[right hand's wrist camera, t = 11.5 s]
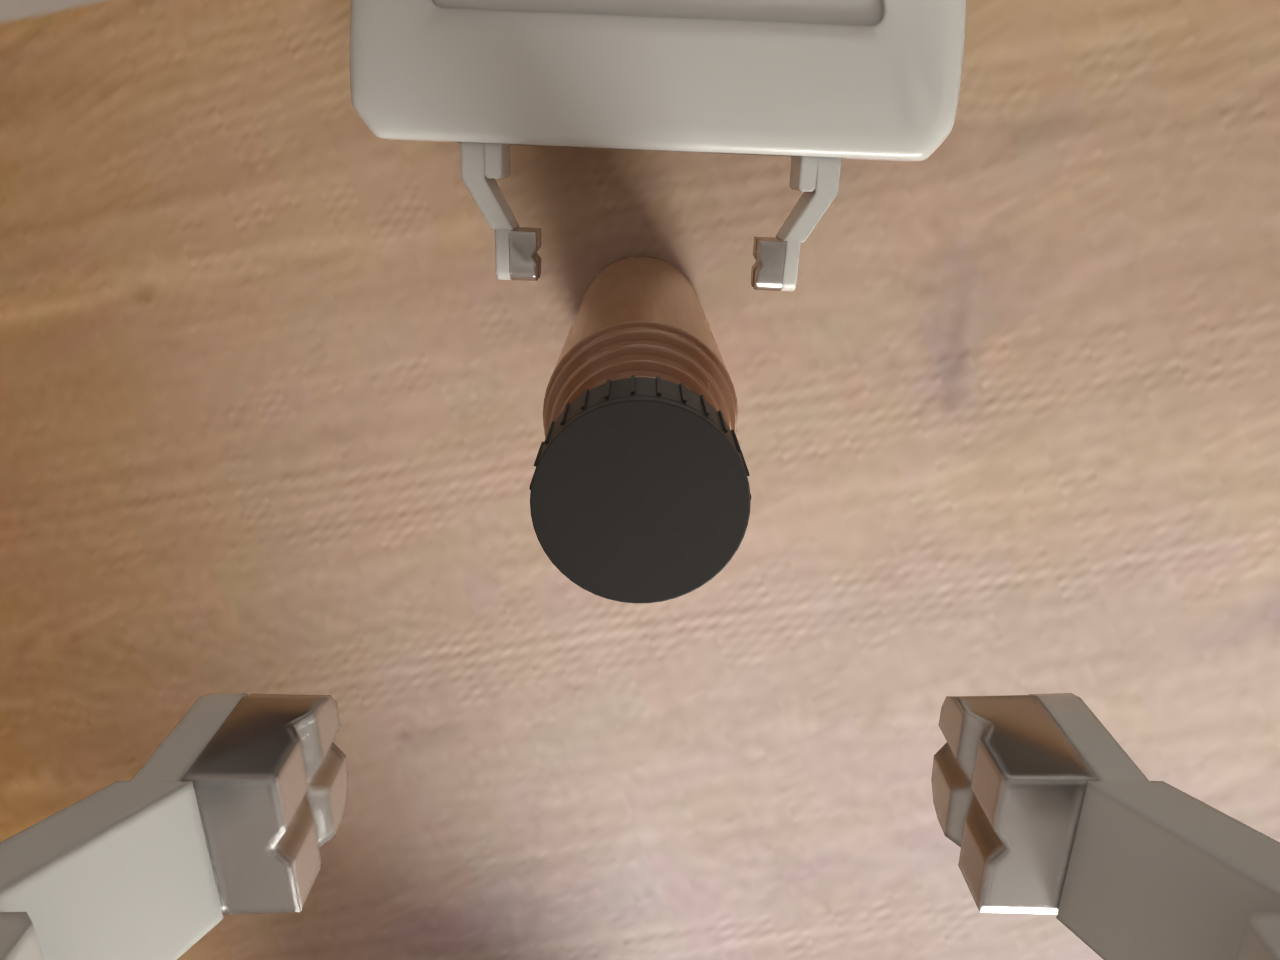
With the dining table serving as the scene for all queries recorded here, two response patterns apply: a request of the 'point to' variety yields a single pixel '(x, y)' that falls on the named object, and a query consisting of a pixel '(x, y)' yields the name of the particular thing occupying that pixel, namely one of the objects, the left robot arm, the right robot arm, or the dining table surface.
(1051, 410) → the dining table surface
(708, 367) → the bottle
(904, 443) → the dining table surface
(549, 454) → the cap
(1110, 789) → the right robot arm
